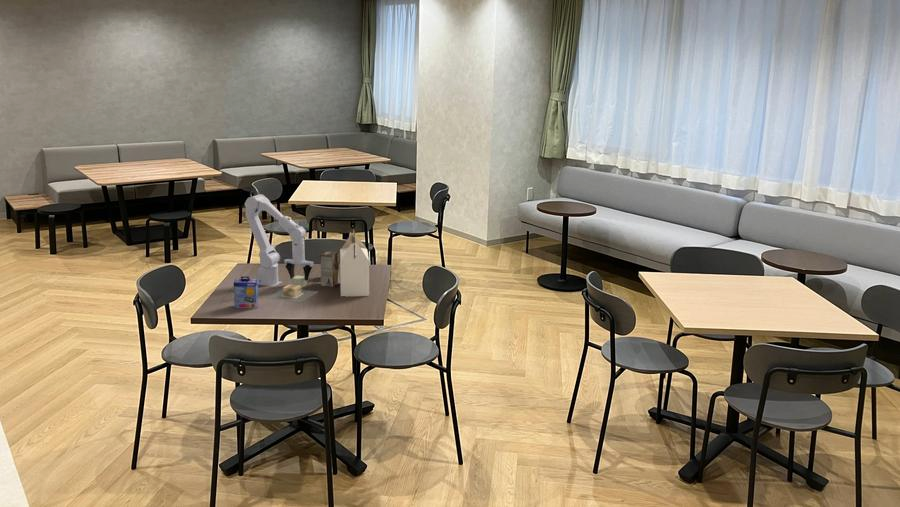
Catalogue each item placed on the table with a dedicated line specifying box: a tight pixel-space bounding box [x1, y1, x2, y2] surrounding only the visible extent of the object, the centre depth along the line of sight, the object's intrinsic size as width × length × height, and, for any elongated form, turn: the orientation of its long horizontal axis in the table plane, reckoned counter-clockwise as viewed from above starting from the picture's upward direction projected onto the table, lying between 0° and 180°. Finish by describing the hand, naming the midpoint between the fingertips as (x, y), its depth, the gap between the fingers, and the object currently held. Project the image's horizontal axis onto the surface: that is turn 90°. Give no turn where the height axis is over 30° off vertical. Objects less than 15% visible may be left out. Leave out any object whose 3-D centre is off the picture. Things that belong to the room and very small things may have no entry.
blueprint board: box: [265, 288, 319, 304], centre depth 346 cm, size 18×18×1 cm
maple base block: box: [282, 283, 302, 297], centre depth 345 cm, size 6×6×4 cm
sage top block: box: [291, 275, 308, 289], centre depth 360 cm, size 5×5×5 cm
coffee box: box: [319, 250, 340, 288], centre depth 363 cm, size 9×6×16 cm
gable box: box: [339, 229, 370, 297], centre depth 355 cm, size 22×13×28 cm, turn 8°
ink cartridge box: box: [233, 275, 260, 309], centre depth 328 cm, size 10×6×14 cm, turn 95°
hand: (299, 279), depth 359 cm, fingers open, 7 cm apart
